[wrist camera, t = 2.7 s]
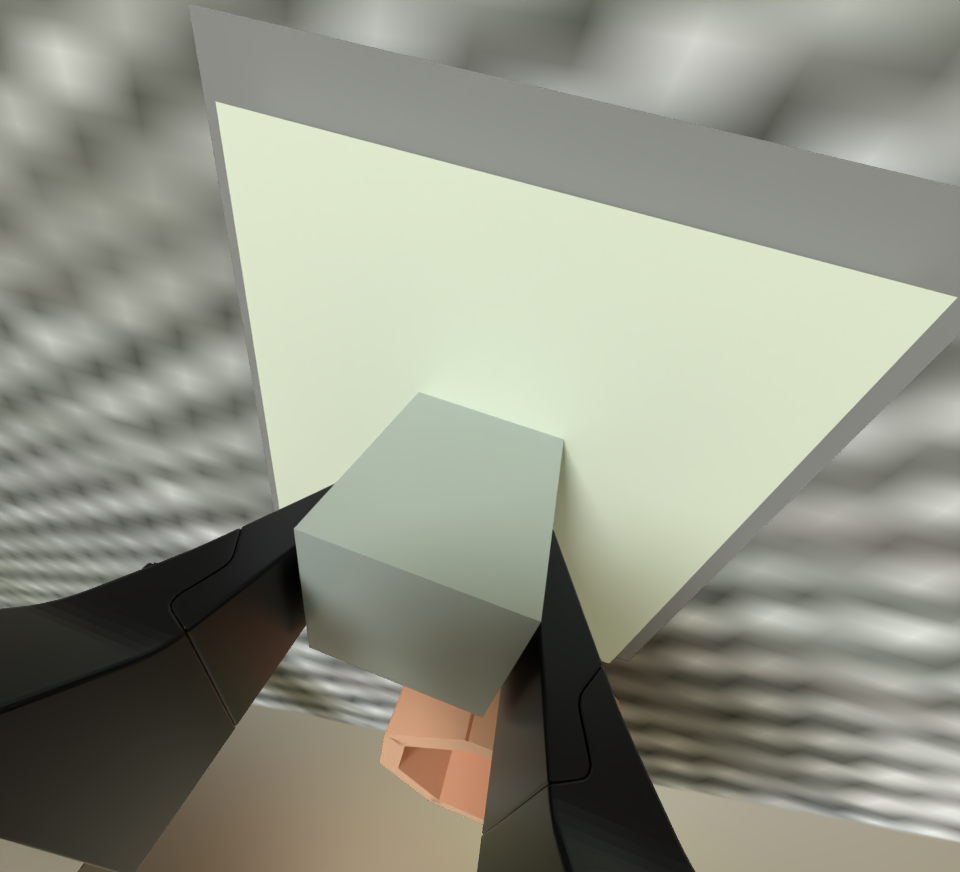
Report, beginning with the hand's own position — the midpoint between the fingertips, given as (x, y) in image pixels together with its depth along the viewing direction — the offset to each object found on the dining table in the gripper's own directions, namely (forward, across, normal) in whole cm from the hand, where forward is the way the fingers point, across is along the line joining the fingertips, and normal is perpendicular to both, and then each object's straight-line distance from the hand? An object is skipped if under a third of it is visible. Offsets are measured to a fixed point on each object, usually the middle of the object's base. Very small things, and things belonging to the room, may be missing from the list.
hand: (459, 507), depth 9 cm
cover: (+3, 0, 0) cm, 3 cm away
